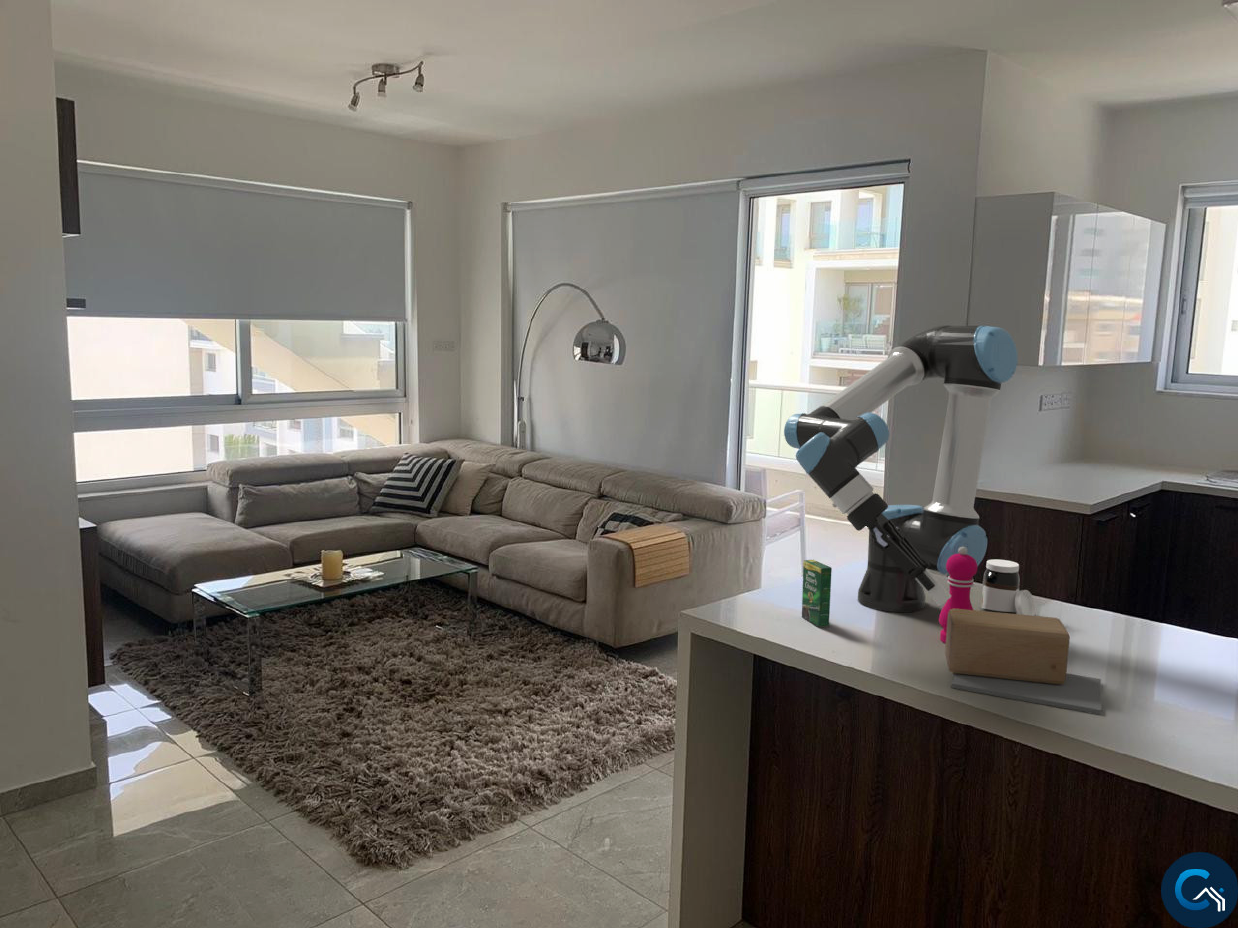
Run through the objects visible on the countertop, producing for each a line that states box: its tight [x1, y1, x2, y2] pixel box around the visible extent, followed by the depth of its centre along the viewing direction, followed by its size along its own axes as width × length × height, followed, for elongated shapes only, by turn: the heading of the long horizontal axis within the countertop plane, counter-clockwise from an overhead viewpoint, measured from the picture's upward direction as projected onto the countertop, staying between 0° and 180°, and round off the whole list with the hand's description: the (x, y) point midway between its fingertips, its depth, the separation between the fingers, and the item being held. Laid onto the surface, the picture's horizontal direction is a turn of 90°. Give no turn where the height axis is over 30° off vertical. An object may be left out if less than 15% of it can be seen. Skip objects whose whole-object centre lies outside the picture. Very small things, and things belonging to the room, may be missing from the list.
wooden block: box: [944, 608, 1071, 685], centre depth 174 cm, size 10×10×20 cm
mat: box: [950, 672, 1103, 715], centre depth 170 cm, size 16×24×1 cm, turn 64°
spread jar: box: [980, 559, 1036, 616], centre depth 211 cm, size 12×11×12 cm
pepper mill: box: [938, 547, 978, 644], centre depth 192 cm, size 7×7×20 cm
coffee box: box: [801, 559, 833, 628], centre depth 203 cm, size 8×3×13 cm, turn 17°
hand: (945, 600), depth 175 cm, fingers closed
